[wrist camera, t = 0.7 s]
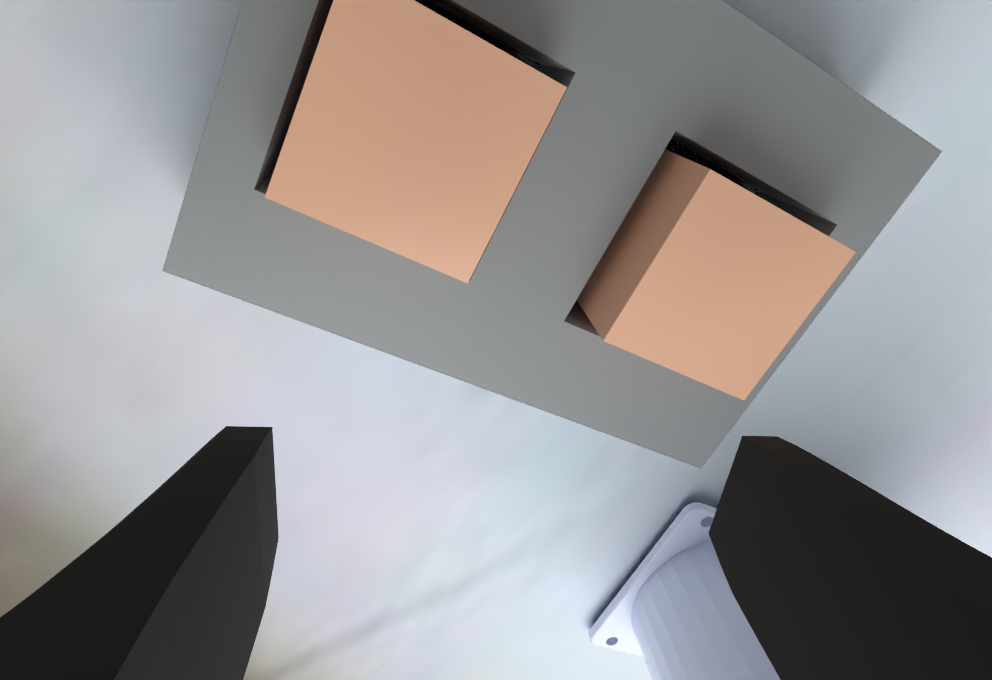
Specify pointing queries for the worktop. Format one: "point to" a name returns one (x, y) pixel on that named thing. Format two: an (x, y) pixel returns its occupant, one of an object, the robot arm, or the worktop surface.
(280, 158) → the button
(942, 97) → the worktop surface
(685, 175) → the button
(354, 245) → the switch block
